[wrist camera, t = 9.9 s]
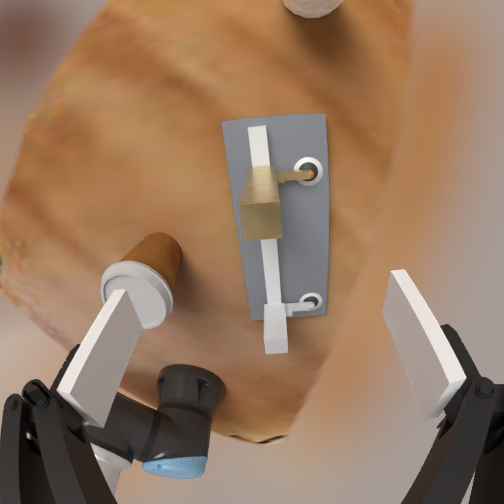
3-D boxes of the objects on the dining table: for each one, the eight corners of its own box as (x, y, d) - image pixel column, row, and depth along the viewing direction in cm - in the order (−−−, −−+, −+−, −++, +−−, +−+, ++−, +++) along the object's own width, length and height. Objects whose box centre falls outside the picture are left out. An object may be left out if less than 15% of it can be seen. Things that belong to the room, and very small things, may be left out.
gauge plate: (324, 308, 45) (334, 355, 37) (251, 314, 46) (248, 361, 38) (322, 113, 30) (345, 118, 22) (223, 121, 32) (207, 128, 23)
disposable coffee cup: (133, 216, 38) (93, 260, 28) (195, 229, 39) (172, 280, 29) (132, 270, 43) (101, 320, 33) (188, 283, 44) (168, 339, 33)
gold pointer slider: (313, 184, 33) (339, 233, 22) (251, 189, 34) (244, 241, 22) (312, 160, 32) (339, 197, 20) (248, 165, 32) (238, 205, 21)
